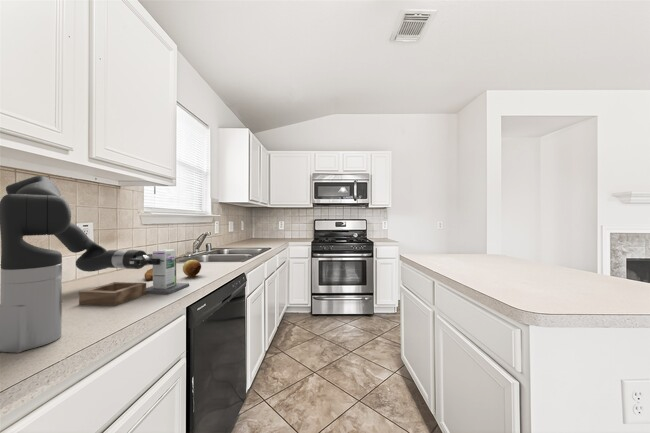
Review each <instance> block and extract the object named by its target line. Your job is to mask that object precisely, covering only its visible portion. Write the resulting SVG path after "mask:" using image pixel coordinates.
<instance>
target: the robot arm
mask: <svg viewBox="0 0 650 433" xmlns="http://www.w3.org/2000/svg"><path fill="white" fill-rule="evenodd" d="M5 192H6V194H5V195H4V196H2V198H0V251H1V252H0V353H2V352H3V353H22V352H24V351H26V350H33V349H35V348H39V347H41V346H42V347H43V346H45V345H48V344H50V343H53V342H56V341H57V340H59V339H60V338H61V337H62V322H63V320H62V315H63V314H62V311H63V309H62V306H63V304H62V301H63V298H62V294H63V292H62V290H63V286H62V285H63V280H62V279H63V254H62V252H60V251H58V250H57V249H49V248H44V247H39V246H36V245H33V244H31V243H28V242H27V241H25V240H24V237H26V236H27V237H28V236H33V237H34V236H54V237H56V238H57V239H58V240H59V242H60V243H61V244H62V245H64V247H65V248H66V249H67V250H68V251H69V252H71V253H74V254H77V253H81V252H83V251H84V252H83V253H82V254H81V255H80V256H79V257H78V258H77V259H76V260H75V266H76V268H77V269H79V270H80V271H83V272H87V273H91V272H92V273H93V272H97V271H98V272H99V271H101V270H106V269H122V270H125V269H126V270H128V269H129V270H140V269H142V268H144V267H145V266H150V265H151V266H153V265H160V263H161V260H160V259H153V253H146V251H145V250H142V249H119V250H118V249H110V250H106V248H105V247H103V246H102V245H99V244H98V243H96V242H95V241H93V240H92V239H91V238H89V237H88V235H87V234H86V233H85V232H84V231H83V229H82V228H81V227H79V226H78V225H76V224H74V223H72V210H71V207H70V204H69V202H68V201H67V200H66V199H65V197H63V196H61V191H60V190H59V187H58V186H57V184H56V183H55V182H53V181H52V180H51V179H50V178H48V177H46V176H44V175H35V176H31V177H29V178H26V179H23V180H20V181H18V182H17V181H16V182H14V183H11V184H8V185H6V187H5Z"/></svg>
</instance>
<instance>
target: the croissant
mask: <svg viewBox="0 0 650 433" xmlns="http://www.w3.org/2000/svg"><path fill="white" fill-rule="evenodd" d="M143 277H144V279H145V281H147V282H149V281H153V267H152V268H150V269H148V270H146V272H144V276H143Z"/></svg>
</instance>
